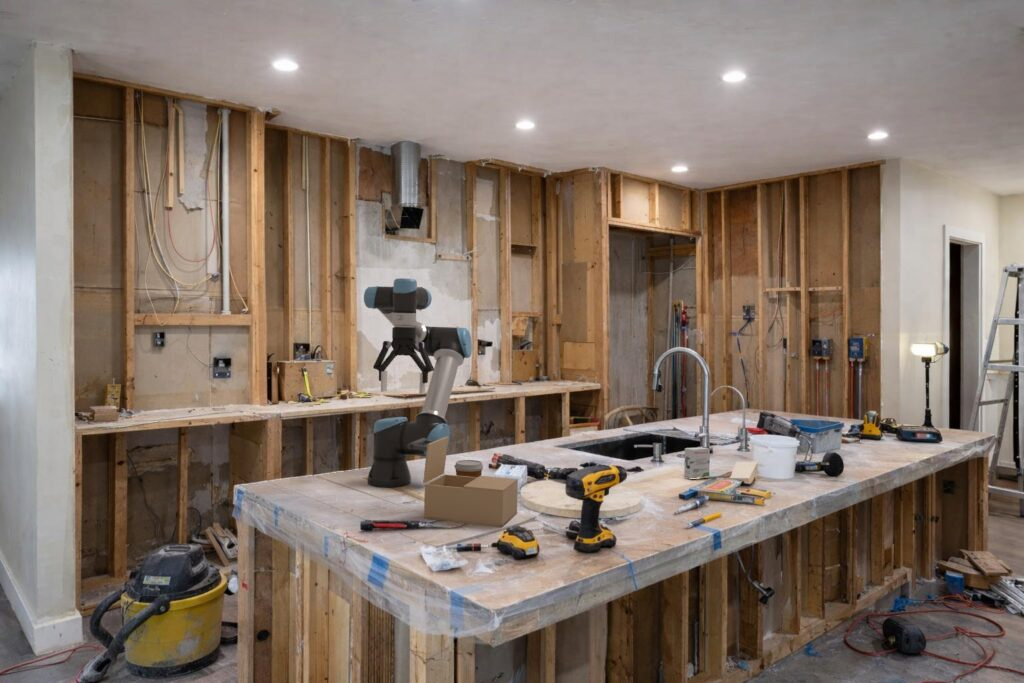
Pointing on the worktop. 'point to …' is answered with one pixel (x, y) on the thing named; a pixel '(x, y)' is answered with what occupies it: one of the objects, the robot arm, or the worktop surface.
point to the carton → (471, 499)
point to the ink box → (696, 462)
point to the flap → (432, 456)
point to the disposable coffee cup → (468, 468)
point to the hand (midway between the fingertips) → (402, 392)
